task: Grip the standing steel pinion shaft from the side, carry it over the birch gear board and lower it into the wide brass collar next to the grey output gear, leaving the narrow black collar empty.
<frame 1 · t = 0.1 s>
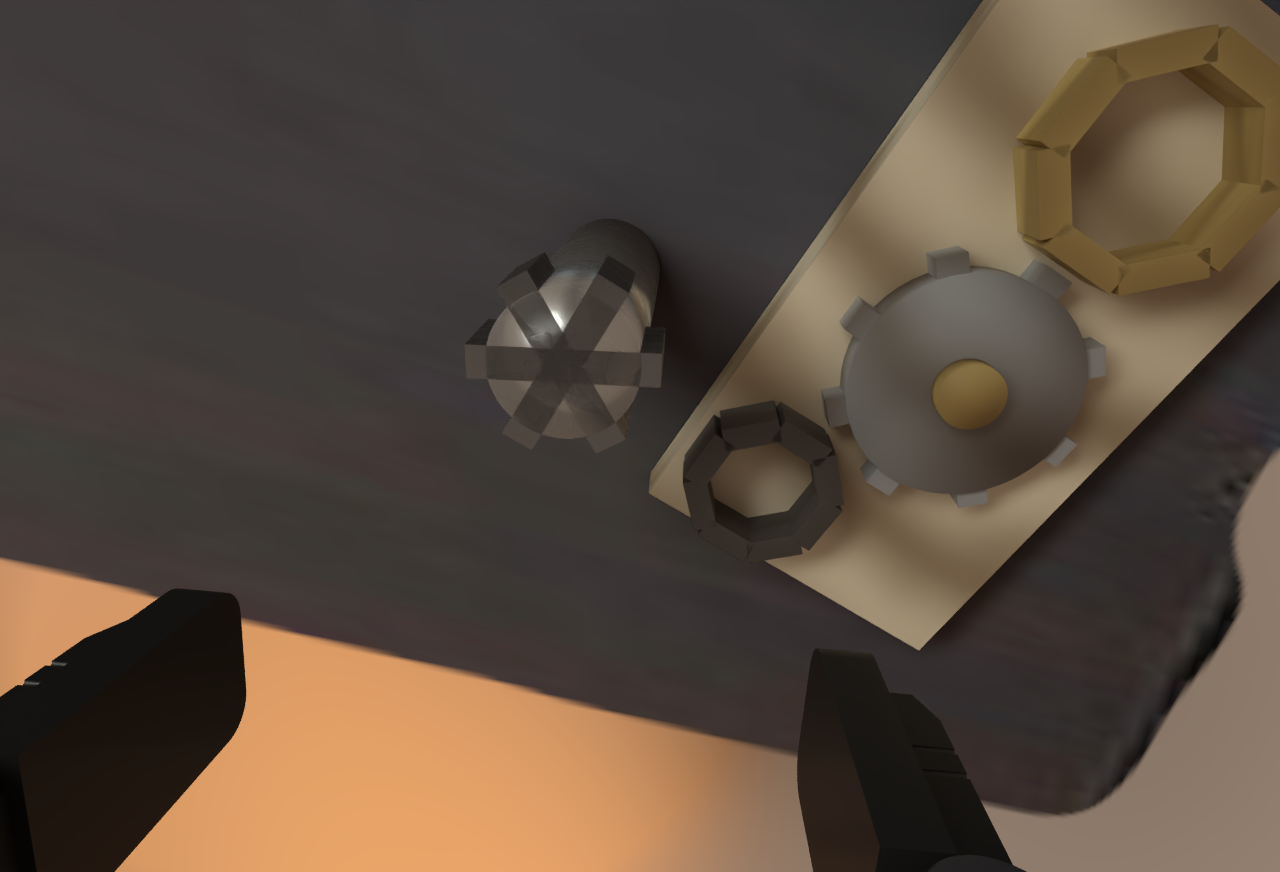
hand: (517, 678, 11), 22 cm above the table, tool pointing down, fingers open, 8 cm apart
gear board: (972, 320, 31), on the table
pinion shaft: (609, 271, 31), on the table
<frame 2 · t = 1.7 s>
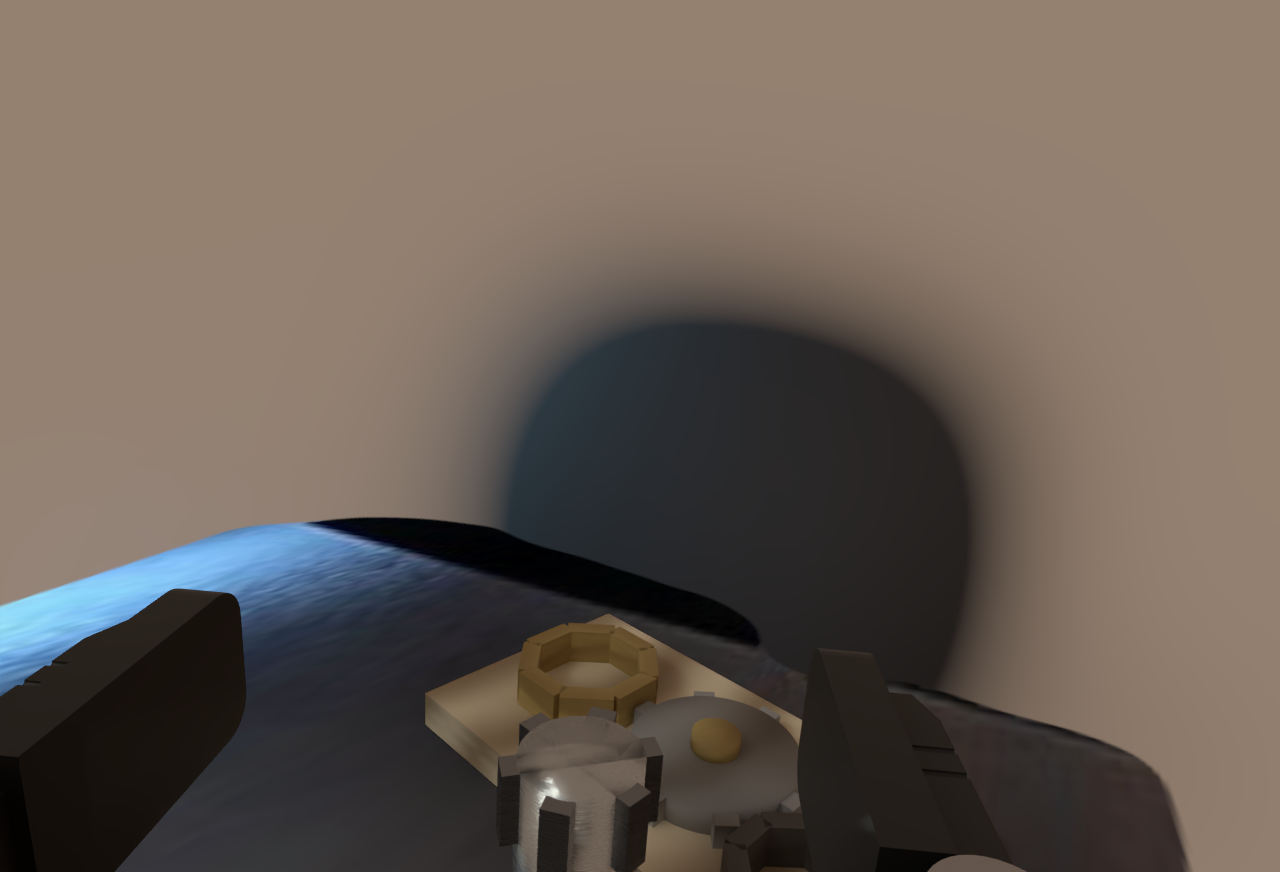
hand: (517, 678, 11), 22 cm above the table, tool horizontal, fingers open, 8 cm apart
gear board: (678, 784, 41), on the table
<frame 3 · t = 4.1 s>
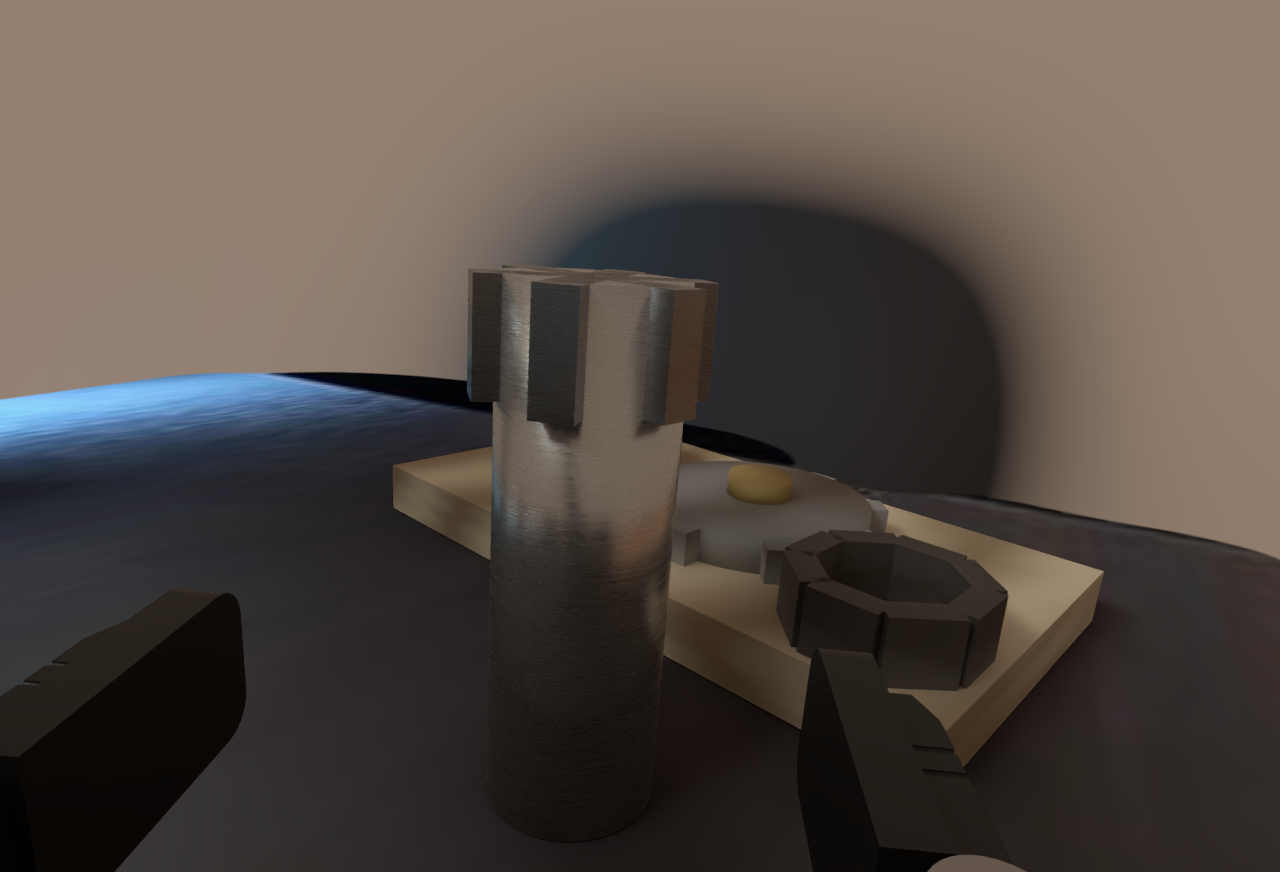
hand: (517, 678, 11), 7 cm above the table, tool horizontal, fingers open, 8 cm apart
gear board: (709, 559, 32), on the table
pinion shaft: (569, 779, 19), on the table
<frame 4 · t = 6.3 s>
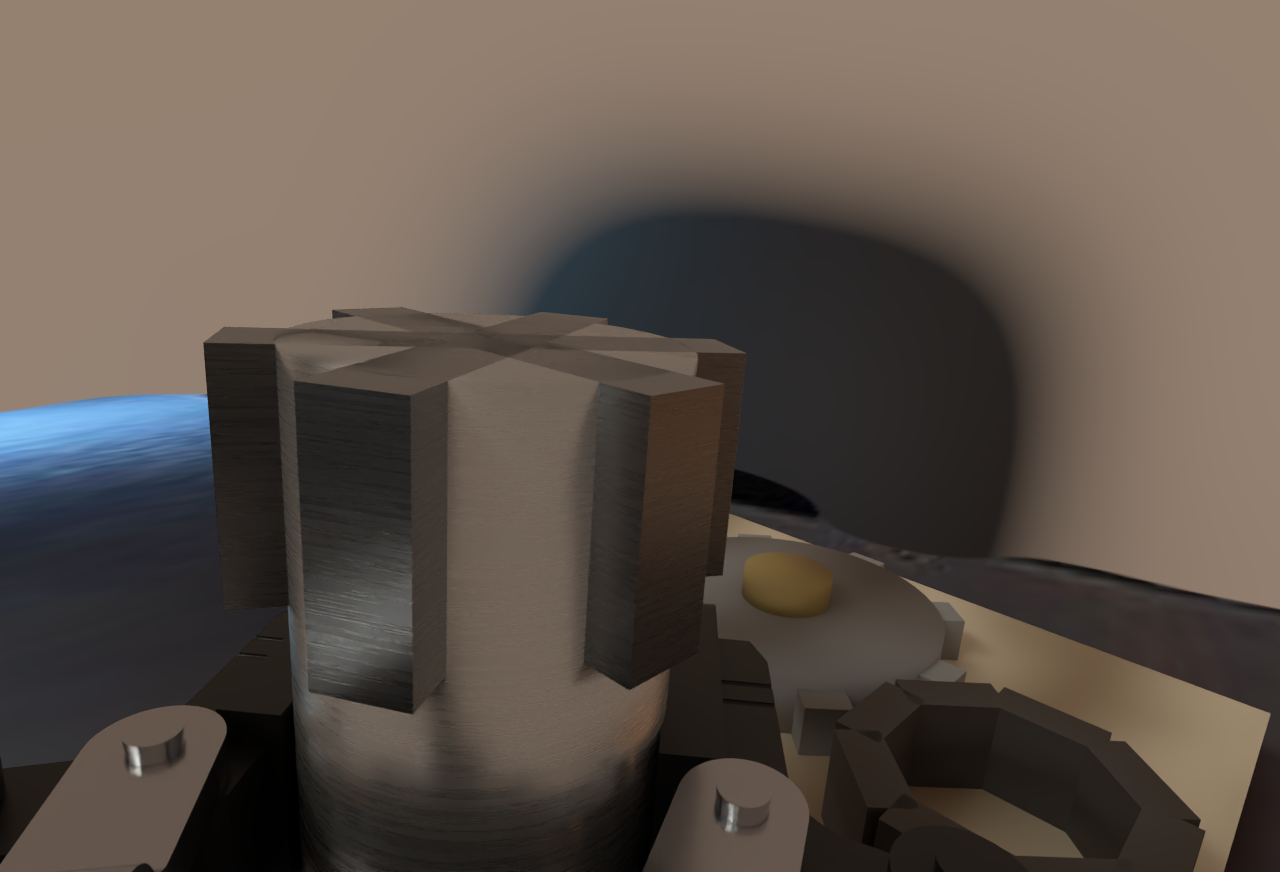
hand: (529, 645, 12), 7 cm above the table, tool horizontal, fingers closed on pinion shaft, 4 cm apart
gear board: (716, 674, 24), on the table
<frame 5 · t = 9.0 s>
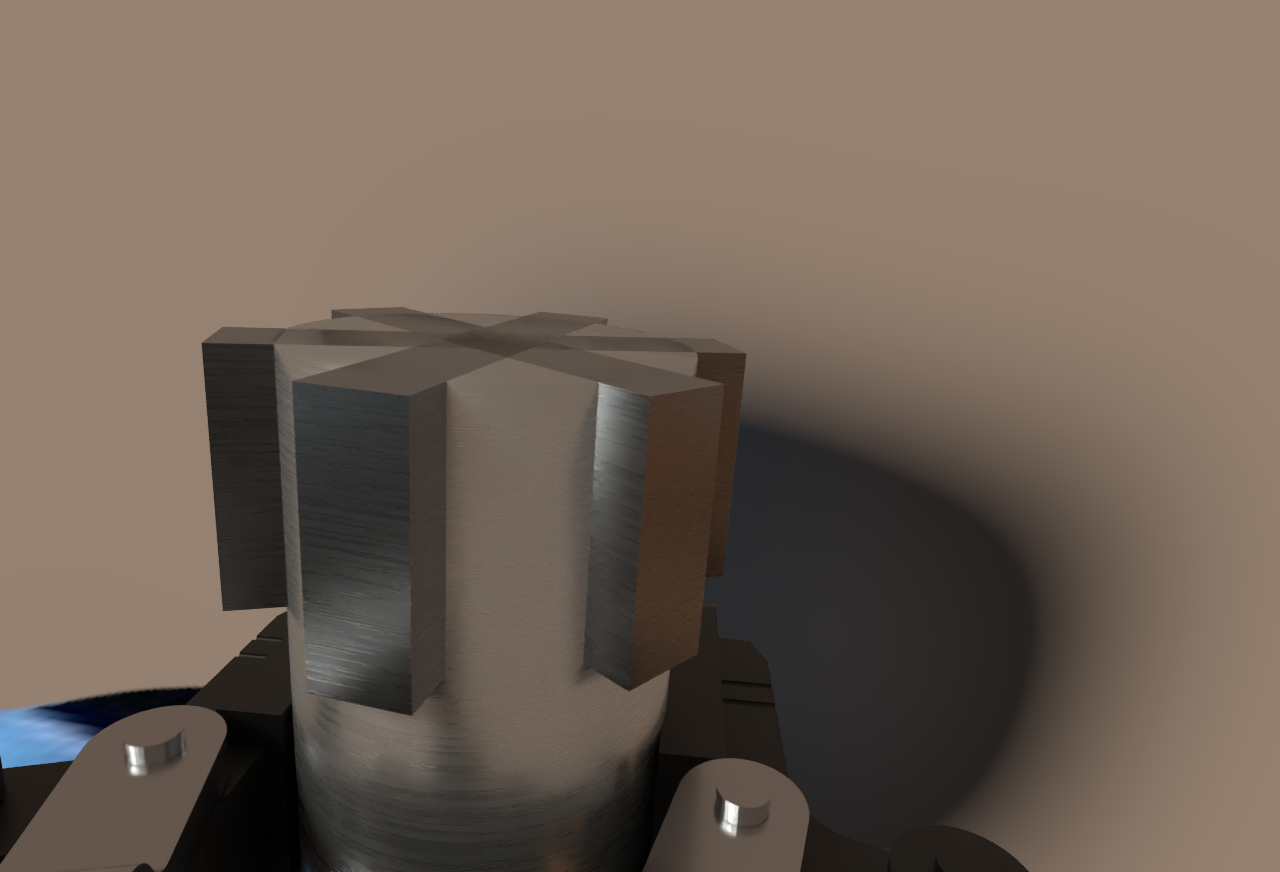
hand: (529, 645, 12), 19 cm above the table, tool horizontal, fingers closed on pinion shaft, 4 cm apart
when the fingers open (10 cm above the table, at t = 11.6 s): pinion shaft stays where it is, resting on gear board.
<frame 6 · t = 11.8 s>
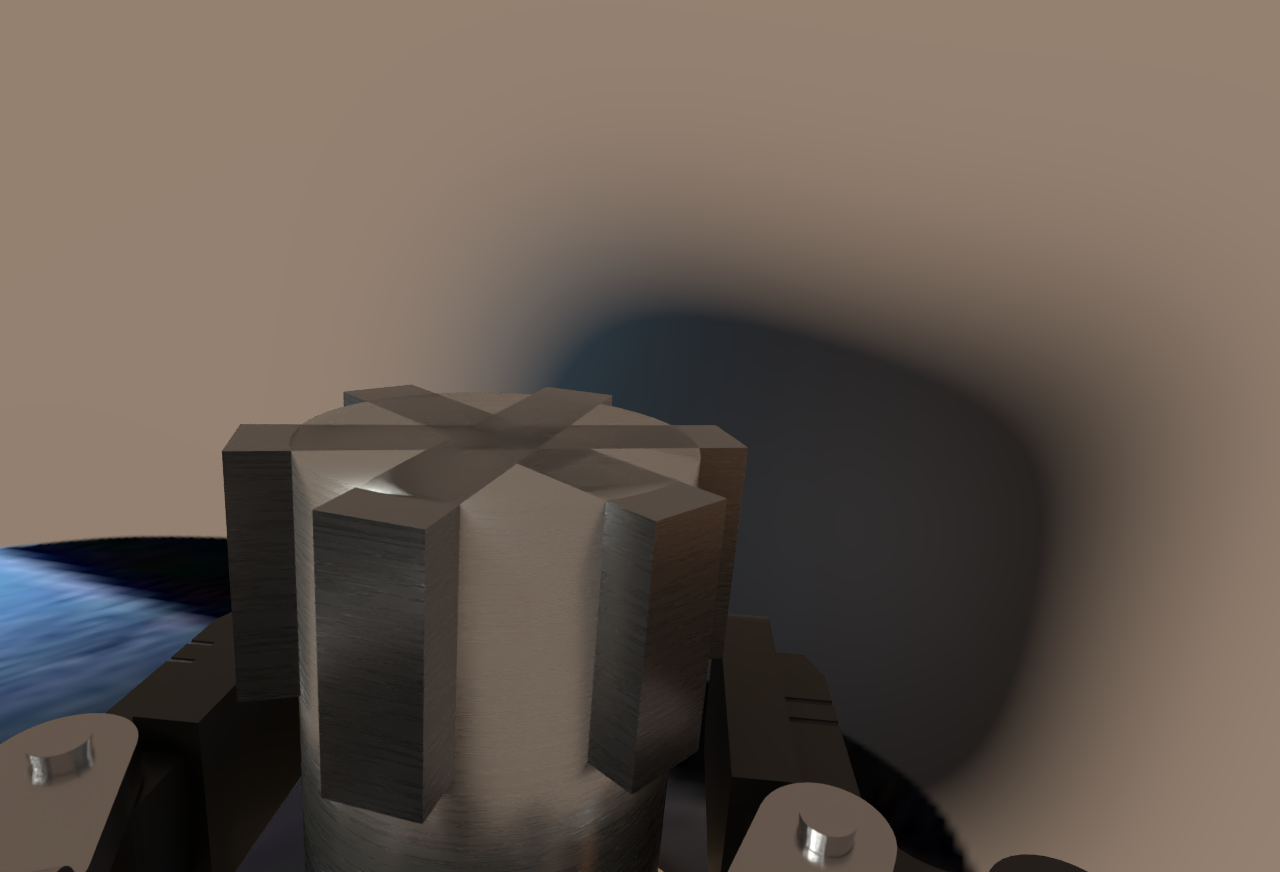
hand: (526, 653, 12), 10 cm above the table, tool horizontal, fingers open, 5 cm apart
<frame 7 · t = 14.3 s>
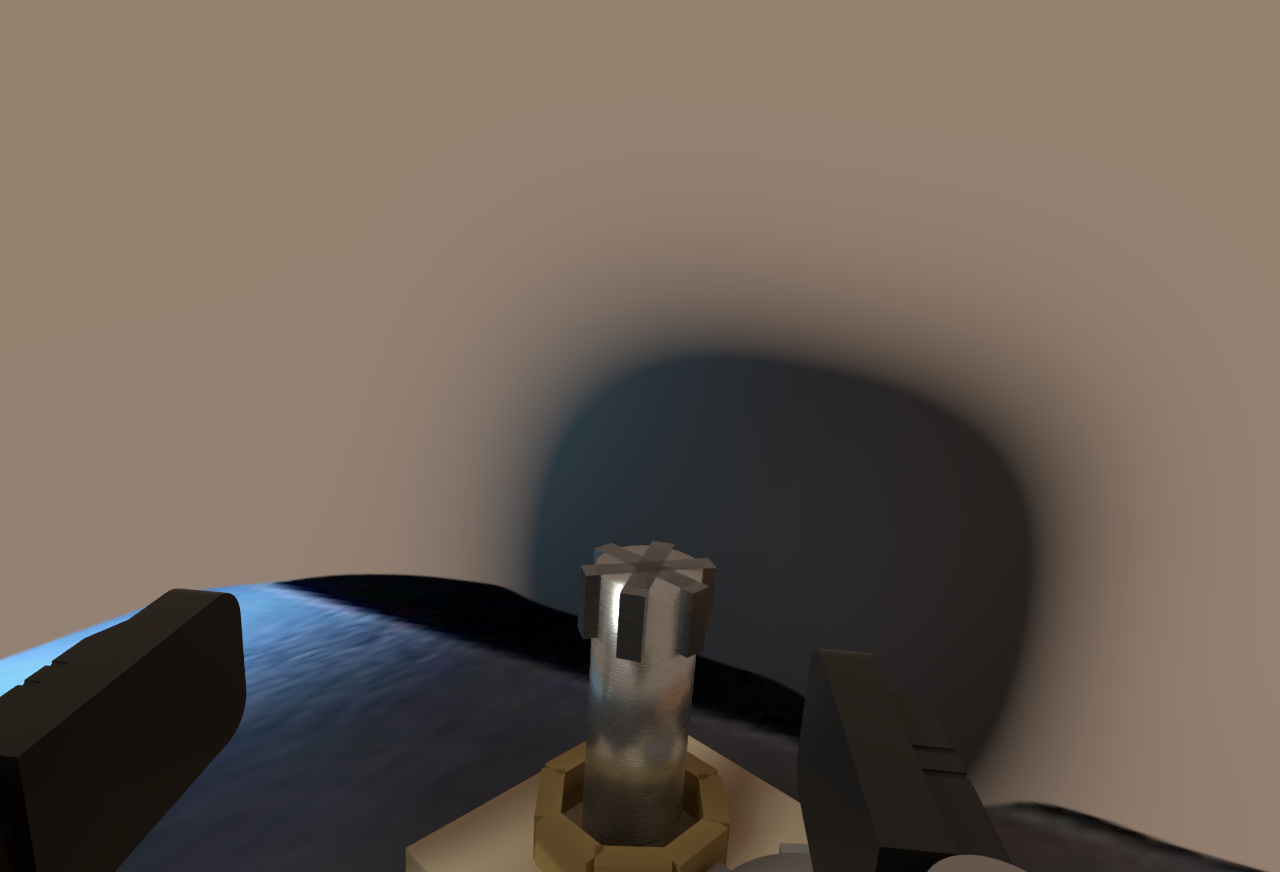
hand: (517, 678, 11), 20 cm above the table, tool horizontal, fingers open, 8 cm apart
pinion shaft: (629, 837, 32), point 2 cm above the table, touching gear board
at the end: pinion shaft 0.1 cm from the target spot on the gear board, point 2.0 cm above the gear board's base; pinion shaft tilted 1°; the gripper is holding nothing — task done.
